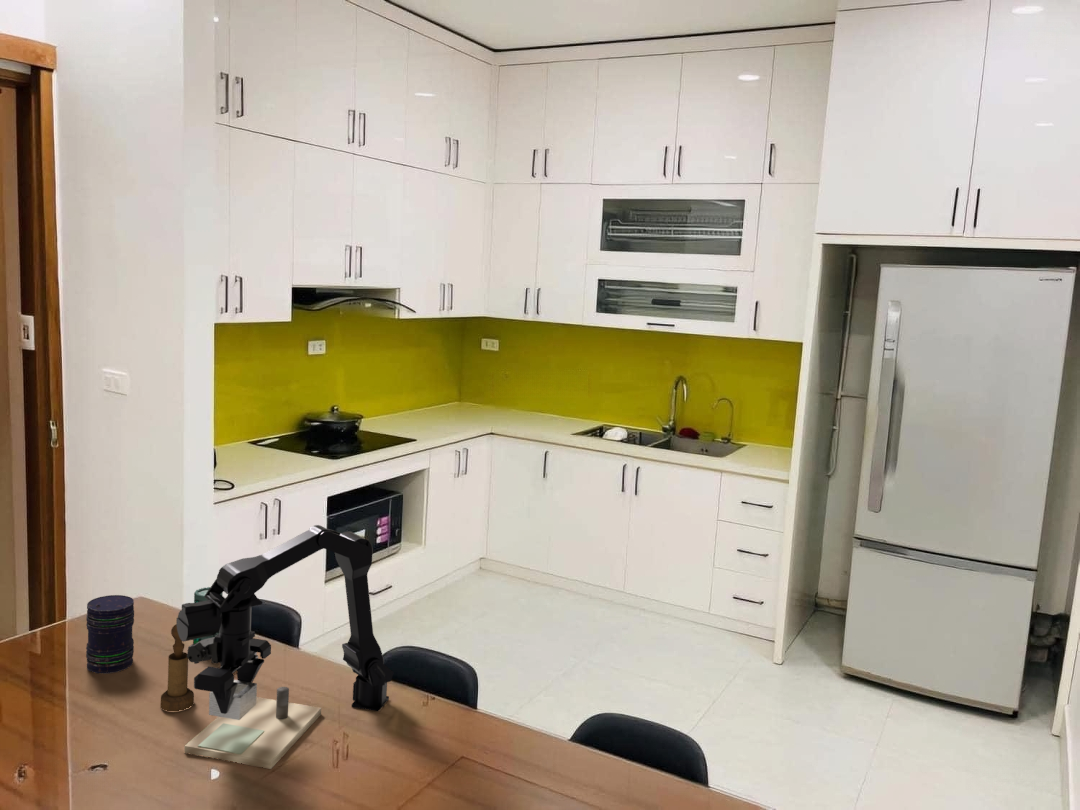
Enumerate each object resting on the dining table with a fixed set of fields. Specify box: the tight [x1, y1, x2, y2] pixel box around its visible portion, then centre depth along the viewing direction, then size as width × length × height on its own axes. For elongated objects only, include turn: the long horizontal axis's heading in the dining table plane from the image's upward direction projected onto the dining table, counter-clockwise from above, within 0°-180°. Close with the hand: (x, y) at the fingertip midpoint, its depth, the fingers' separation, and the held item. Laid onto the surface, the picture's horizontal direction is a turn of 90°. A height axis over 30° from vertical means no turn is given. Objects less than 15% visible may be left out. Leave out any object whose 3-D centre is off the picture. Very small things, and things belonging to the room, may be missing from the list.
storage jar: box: [85, 594, 135, 675], centre depth 199 cm, size 10×10×15 cm
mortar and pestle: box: [160, 623, 195, 711], centre depth 182 cm, size 7×6×18 cm
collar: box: [208, 679, 258, 720], centre depth 168 cm, size 6×6×4 cm
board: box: [183, 686, 322, 770], centre depth 175 cm, size 18×22×8 cm
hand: (233, 705), depth 169 cm, fingers closed on collar, 6 cm apart
